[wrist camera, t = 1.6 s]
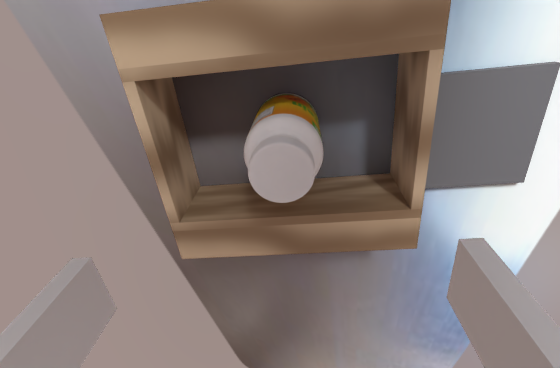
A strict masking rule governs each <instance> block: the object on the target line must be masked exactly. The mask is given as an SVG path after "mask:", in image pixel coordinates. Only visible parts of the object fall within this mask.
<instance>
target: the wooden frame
mask: <svg viewBox="0 0 560 368" xmlns="http://www.w3.org/2000/svg"><path fill="white" fill-rule="evenodd" d="M450 4H451V0H210V1H202V2H194V3H186V4H179V5H171V6H163V7H155V8H148V9H140V10H132V11H124V12H116V13H109V14H101V15H100V18H101V21H102V24H103V27H104V30H105V33H106V36H107V39H108V42H109V45H110V48H111V51H112V54H113V57H114V59H115V62H116V65H117V68H118V71H119V74H120V77H121V80H122V83H123V86H124V89H125V92H126V95H127V98H128V101H129V104H130V107H131V110H132V113H133V116H134V119H135V121H136V124H137V127H138V130H139V133H140V136H141V139H142V142H143V145H144V148H145V151H146V154H147V157H148V160H149V163H150V166H151V169H152V172H153V175H154V178H155V181H156V183H157V186H158V189H159V192H160V195H161V198H162V201H163V204H164V207H165V210H166V213H167V216H168V219H169V222H170V225H171V228H172V231H173V234H174V237H175V240H176V243H177V246H178V248H179V251H180V254H181V257H182V259H192V258H215V257H237V256H259V255H281V254H304V253H326V252H348V251H370V250H393V249H415V248H417V243H418V236H419V229H420V221H421V214H422V207H423V200H424V192H425V185H426V178H427V171H428V163H429V156H430V149H431V142H432V134H433V127H434V120H435V113H436V105H437V98H438V91H439V84H440V76H441V69H442V62H443V55H444V47H445V40H446V33H447V26H448V18H449V11H450ZM390 54H399V58H398V72H397V86H396V99H395V113H394V126H393V140H392V154H391V167H390V173H388V174H373V175H359V176H344V177H329V178H315V179H314V182H313V185H312V187H311V188H310V190H309V191H308V192H307V193H306V194H305V195H304V196H303V197H301V198H299V199H297V200H295V201H292V202H288V203H277V202H272V201H269V200H267V199H265V198H263V197H261V196H260V195H259V194H258V193H257V192H256V191H255V190H254V189H253V187H252V185H251V183H242V184H227V185H212V186H200V183H199V179H198V175H197V171H196V168H195V164H194V160H193V156H192V152H191V148H190V145H189V141H188V137H187V133H186V129H185V126H184V122H183V118H182V114H181V110H180V107H179V103H178V99H177V95H176V91H175V87H174V84H173V80H172V77H180V76H190V75H199V74H209V73H219V72H228V71H238V70H247V69H257V68H266V67H276V66H285V65H295V64H304V63H314V62H323V61H333V60H343V59H352V58H362V57H371V56H381V55H390Z"/></svg>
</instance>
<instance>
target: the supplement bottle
mask: <svg viewBox="0 0 560 368" xmlns="http://www.w3.org/2000/svg"><path fill="white" fill-rule="evenodd" d="M244 160H245V164H246V166H247V168H248V177H249V181H250V183H251V185H252V187H253V189H254V190H255V191H256V192H257V193H258V194H259V195H260V196H261V197H263V198H265V199H267V200H269V201H272V202H277V203H288V202H292V201H295V200H297V199H299V198H301V197H303V196H304V195H305V194H306V193H307V192H308V191H309V190H310V188H311V187H312V185H313V182H314V179H315V176H316V175H317V173H318V171H319V169H320V167H321V165H322V161H323V144H322V139H321V133H320V127H319V121H318V117H317V114H316V111H315V109H314V108H313V106H312V105H311V104H310V103H309V102H308V101H307V100H306V99H304V98H303V97H301V96H299V95H296V94H291V93H283V94H278V95H275V96H273V97H271V98H270V99H268V100H267V101H266V102H264V104H263V105H262V106H261V107H260V109H259V111H258V112H257V115H256V117H255V119H254V122H253V124H252V126H251V129H250V131H249V134H248V136H247V138H246V141H245V145H244Z"/></svg>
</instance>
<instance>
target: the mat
mask: <svg viewBox="0 0 560 368" xmlns="http://www.w3.org/2000/svg"><path fill="white" fill-rule="evenodd" d="M559 67H560V63H559V62H547V63H537V64H527V65H517V66H506V67H496V68H486V69H476V70H465V71H455V72H445V73H441V76H440V84H439V91H438V98H437V105H436V113H435V120H434V127H433V134H432V142H431V149H430V156H429V163H428V171H427V178H426V185H425V189H426V188H442V187H458V186H474V185H490V184H505V183H521V182H524V180H525V177H526V173H527V170H528V167H529V164H530V161H531V157H532V154H533V151H534V148H535V144H536V141H537V138H538V135H539V132H540V128H541V125H542V122H543V119H544V116H545V112H546V109H547V106H548V103H549V99H550V96H551V93H552V90H553V87H554V83H555V80H556V77H557V74H558V70H559Z"/></svg>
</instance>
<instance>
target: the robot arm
mask: <svg viewBox="0 0 560 368" xmlns="http://www.w3.org/2000/svg"><path fill="white" fill-rule="evenodd" d="M447 299H448V301H449V303H450V305H451V306H452V308H453V310H454V312H455V314H456V316H457V318H458V319H459V321H460V323H461V325H462V327H463V329H464V331H465V332H466V334H467V336H468V338H469V340H470V342H471V344H472V345H473V347H474V349H475V351H476V353H477V355H478V357H479V358H480V360H481V362H482V364H483V366H484V368H560V328H559V326H558V325H557V324H556V323H555V322H554V321H553V319H552V318H551V317H550V316H549V315H548V313H547V312H546V311H545V310H544V309H543V308H542V306H541V305H540V304H539V303H538V302H537V301H536V299H535V298H534V297H533V296H532V295H531V294H530V292H529V291H528V290H527V289H526V288H525V287H524V285H523V284H522V283H521V282H520V281H519V279H518V278H517V277H516V276H515V275H514V274H513V272H512V271H511V270H510V269H509V268H508V266H507V265H506V264H505V263H504V262H503V261H502V259H501V258H500V257H499V256H498V255H497V254H496V252H495V251H494V250H493V249H492V248H491V247H490V245H489V244H488V243H487V242H486V241H485V240H484V238H473V239H459V241H458V246H457V251H456V256H455V260H454V265H453V270H452V275H451V279H450V284H449V289H448V294H447ZM116 309H117V307H116V306H115V304H114V302H113V300H112V298H111V296H110V294H109V292H108V290H107V288H106V286H105V284H104V282H103V280H102V278H101V276H100V274H99V272H98V270H97V268H96V266H95V264H94V262H93V260H92V259H91V258H72V259H71V260H70V261H69V262H68V263H67V264H66V265H65V266H64V267H63V269H62V270H61V271H60V272H59V273H58V274H57V275H56V276H55V277H54V278H53V279H52V280H51V281H50V282H49V283H48V284H47V285H46V287H45V288H44V289H43V290H42V291H41V292H40V293H39V294H38V295H37V296H36V297H35V298H34V299H33V300H32V301H31V302H30V303H29V304H28V305H27V307H26V308H25V309H24V310H23V311H22V312H21V313H20V314H19V315H18V316H17V317H16V318H15V319H14V320H13V321H12V322H11V324H10V325H9V326H8V327H7V328H6V329H5V330H4V331H3V332H2V333H1V334H0V368H80V367H81V365H82V364H83V362H84V360H85V359H86V357H87V355H88V354H89V352H90V351H91V349H92V348H93V346H94V344H95V343H96V341H97V340H98V338H99V336H100V335H101V333H102V332H103V330H104V328H105V327H106V325H107V324H108V322H109V320H110V319H111V317H112V316H113V314H114V312H115V311H116Z"/></svg>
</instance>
